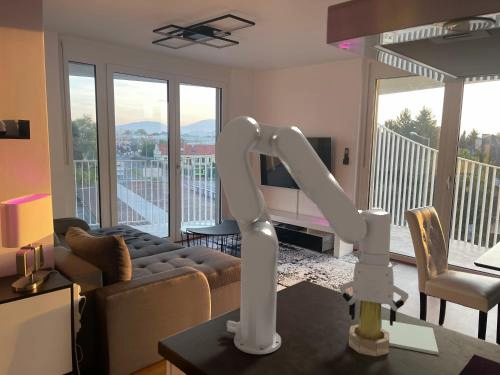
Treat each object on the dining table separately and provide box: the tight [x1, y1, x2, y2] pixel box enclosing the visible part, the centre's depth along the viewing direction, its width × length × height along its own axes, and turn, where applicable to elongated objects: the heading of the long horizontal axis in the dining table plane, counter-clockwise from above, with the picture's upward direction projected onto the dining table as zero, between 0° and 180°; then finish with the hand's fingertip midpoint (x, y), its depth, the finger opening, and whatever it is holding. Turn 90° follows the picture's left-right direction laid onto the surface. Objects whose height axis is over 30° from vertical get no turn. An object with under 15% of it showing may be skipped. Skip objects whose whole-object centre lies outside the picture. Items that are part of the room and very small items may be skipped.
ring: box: [348, 323, 390, 357], centre depth 100 cm, size 10×10×4 cm
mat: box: [381, 319, 440, 356], centre depth 105 cm, size 14×14×1 cm
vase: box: [358, 301, 382, 341], centre depth 99 cm, size 6×6×14 cm
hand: (371, 320), depth 99 cm, fingers open, 9 cm apart
